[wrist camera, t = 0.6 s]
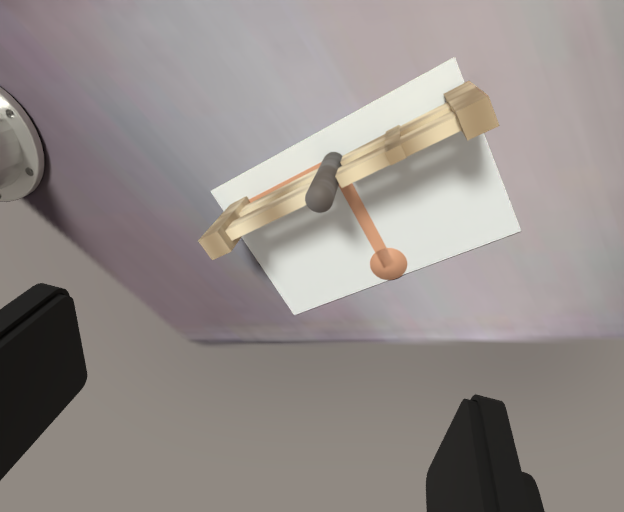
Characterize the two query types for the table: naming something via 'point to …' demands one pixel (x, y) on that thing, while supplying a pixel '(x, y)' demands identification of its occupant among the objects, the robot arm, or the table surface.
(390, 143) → the fence gate
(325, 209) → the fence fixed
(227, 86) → the table surface
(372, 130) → the card
